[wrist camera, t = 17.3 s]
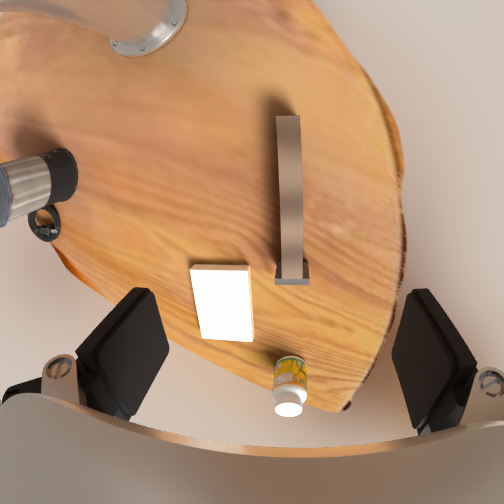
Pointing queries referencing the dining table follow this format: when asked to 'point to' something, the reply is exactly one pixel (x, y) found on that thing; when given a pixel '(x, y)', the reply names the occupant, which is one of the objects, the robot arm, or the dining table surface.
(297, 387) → the supplement bottle
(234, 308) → the tile
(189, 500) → the robot arm
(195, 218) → the dining table surface
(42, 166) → the milk frother
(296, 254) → the bar
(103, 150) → the dining table surface
